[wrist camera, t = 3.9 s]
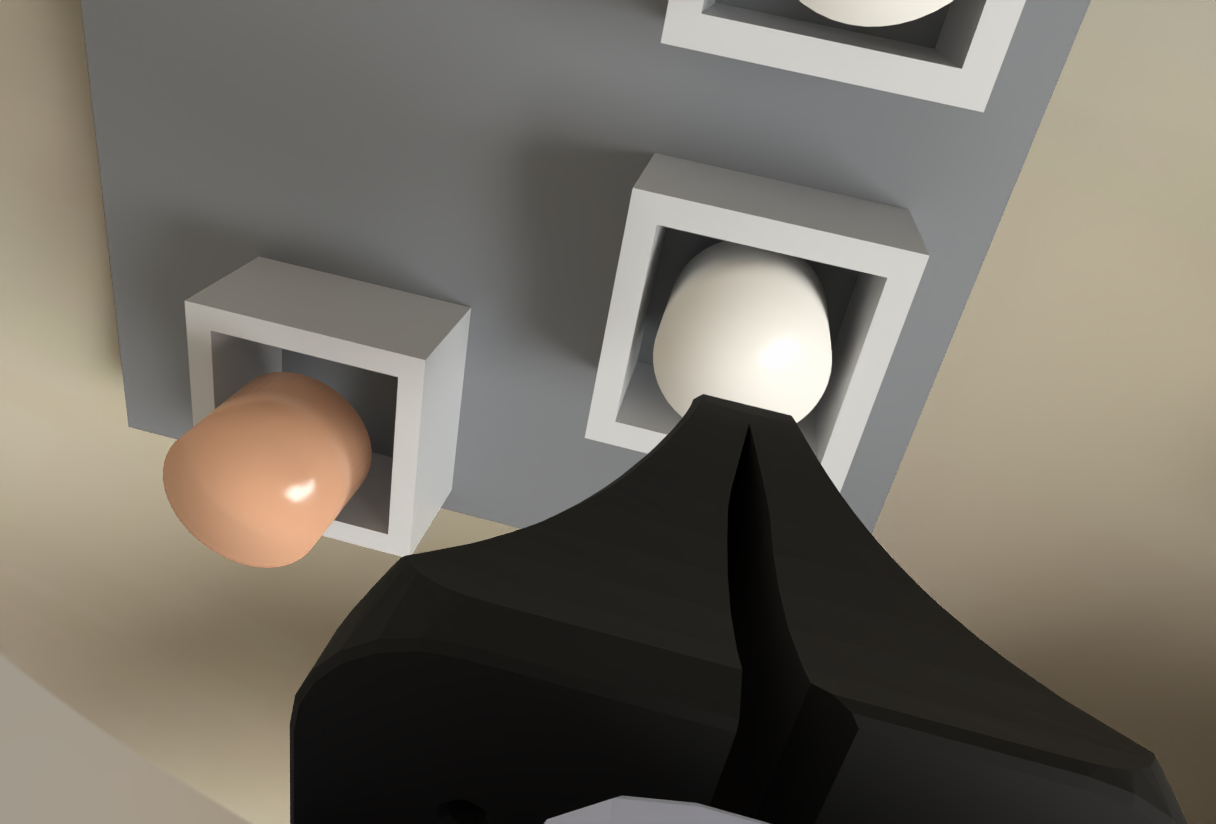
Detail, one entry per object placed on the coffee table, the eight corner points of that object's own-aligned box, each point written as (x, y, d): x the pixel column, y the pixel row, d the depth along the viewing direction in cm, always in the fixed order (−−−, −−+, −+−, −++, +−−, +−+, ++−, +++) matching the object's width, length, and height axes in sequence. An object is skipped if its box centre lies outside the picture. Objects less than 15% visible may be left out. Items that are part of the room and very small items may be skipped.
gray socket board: (835, 559, 22) (845, 697, 18) (176, 391, 24) (49, 485, 20) (1158, -263, 14) (1309, -347, 10) (110, -453, 15) (-138, -596, 11)
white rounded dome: (801, 399, 17) (802, 456, 15) (654, 364, 18) (638, 415, 16) (848, 258, 16) (856, 301, 14) (686, 221, 16) (673, 259, 14)
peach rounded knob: (368, 517, 18) (319, 584, 16) (233, 481, 18) (169, 544, 17) (374, 393, 17) (322, 451, 15) (227, 356, 17) (156, 408, 15)
